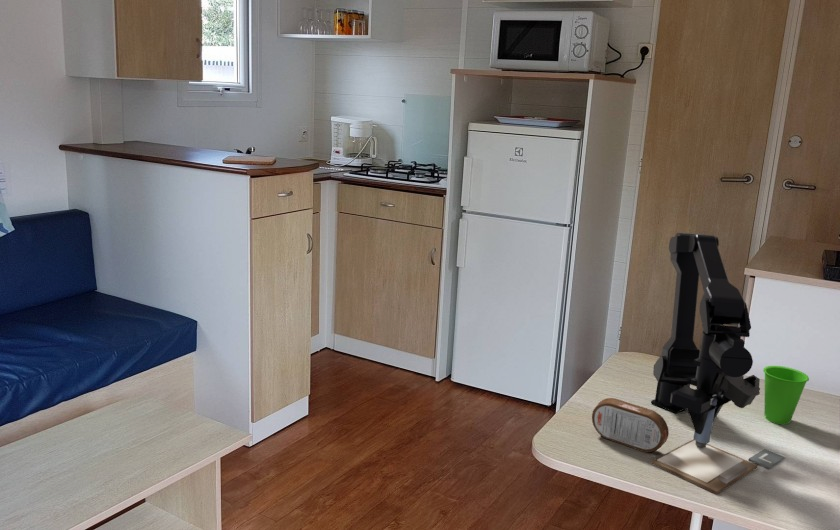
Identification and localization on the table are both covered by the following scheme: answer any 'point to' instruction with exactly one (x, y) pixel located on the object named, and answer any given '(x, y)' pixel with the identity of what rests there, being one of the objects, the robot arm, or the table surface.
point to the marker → (706, 428)
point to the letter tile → (766, 458)
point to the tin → (630, 424)
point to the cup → (782, 392)
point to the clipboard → (705, 466)
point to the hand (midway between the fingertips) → (702, 431)
